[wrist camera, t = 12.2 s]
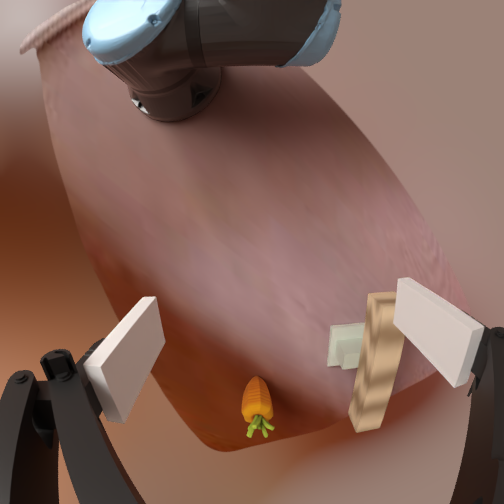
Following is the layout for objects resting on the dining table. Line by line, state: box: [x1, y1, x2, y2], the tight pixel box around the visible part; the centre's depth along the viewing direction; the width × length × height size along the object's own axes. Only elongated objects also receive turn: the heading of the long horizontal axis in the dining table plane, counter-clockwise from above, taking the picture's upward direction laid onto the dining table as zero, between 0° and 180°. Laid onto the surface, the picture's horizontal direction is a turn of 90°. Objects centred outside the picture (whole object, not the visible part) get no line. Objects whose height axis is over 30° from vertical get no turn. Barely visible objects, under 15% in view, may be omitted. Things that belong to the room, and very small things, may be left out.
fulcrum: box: [327, 322, 365, 370], centre depth 45 cm, size 8×12×6 cm, turn 91°
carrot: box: [242, 376, 274, 438], centre depth 41 cm, size 5×5×15 cm
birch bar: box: [348, 291, 405, 433], centre depth 39 cm, size 24×4×6 cm, turn 1°
